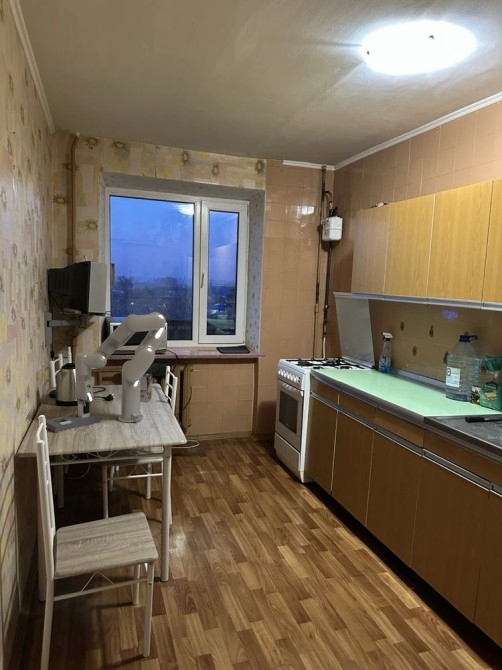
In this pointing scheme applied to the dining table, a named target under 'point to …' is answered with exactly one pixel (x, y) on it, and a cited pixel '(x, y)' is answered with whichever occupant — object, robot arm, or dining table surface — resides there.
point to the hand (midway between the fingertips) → (83, 411)
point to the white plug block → (81, 410)
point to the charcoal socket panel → (71, 422)
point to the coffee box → (145, 387)
